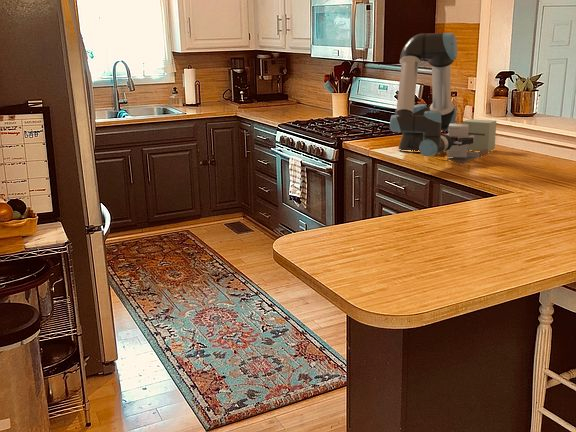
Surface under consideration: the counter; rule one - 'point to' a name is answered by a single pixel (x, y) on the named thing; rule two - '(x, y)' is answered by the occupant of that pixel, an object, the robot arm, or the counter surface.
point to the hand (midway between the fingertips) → (461, 136)
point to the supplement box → (458, 132)
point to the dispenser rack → (481, 136)
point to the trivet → (461, 159)
